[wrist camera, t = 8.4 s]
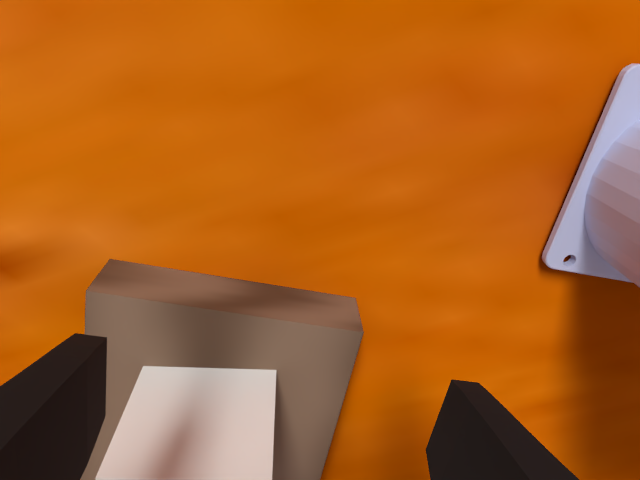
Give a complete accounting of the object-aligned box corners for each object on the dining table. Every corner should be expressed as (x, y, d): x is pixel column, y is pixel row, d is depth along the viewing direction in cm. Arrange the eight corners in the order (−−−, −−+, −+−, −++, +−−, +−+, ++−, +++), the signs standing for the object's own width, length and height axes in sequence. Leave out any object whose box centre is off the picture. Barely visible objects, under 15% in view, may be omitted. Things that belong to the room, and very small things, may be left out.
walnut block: (354, 292, 21) (363, 332, 18) (307, 460, 25) (309, 514, 22) (114, 253, 20) (85, 290, 17) (104, 437, 24) (80, 491, 21)
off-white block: (276, 370, 19) (272, 480, 14) (270, 464, 21) (265, 588, 16) (143, 365, 19) (95, 478, 14) (150, 463, 21) (110, 589, 16)
